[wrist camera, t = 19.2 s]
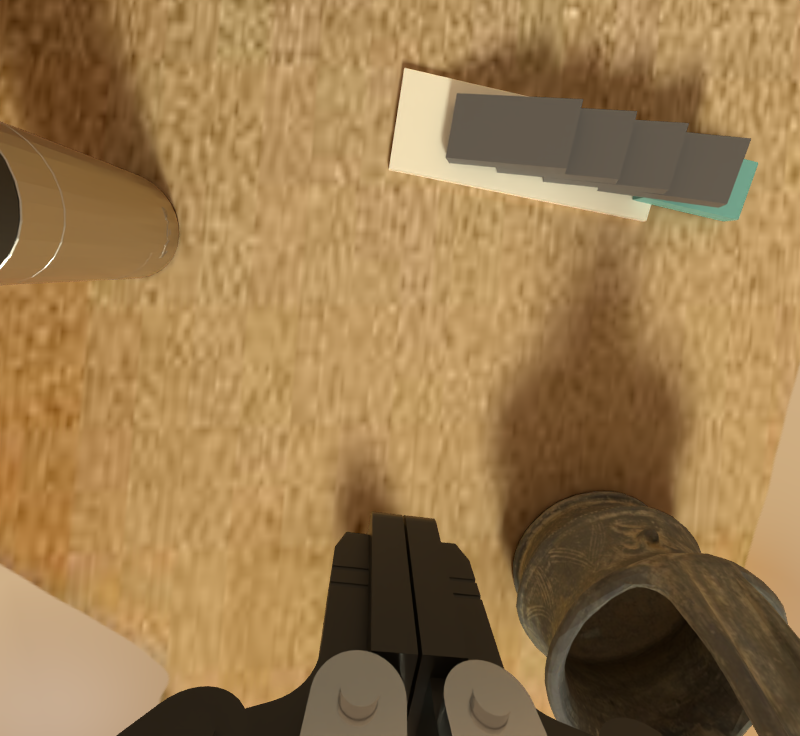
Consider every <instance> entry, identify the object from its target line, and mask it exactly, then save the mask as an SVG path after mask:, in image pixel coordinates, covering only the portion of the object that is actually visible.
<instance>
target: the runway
mask: <svg viewBox="0 0 800 736" xmlns="http://www.w3.org/2000/svg"><path fill="white" fill-rule="evenodd" d="M457 93H465V94H486V95H506V96H525V95H521V94H516V93H512V92H508V91H503V90H499V89H494V88H490V87H486V86H481V85H477V84H473V83H468V82H464V81H460V80H455V79H451V78H447V77H442V76H438V75H434V74H429V73H425V72H420V71H416V70H412V69H407V68H404V74H403V80H402V87H401V93H400V100H399V106H398V113H397V119H396V126H395V132H394V139H393V145H392V152H391V158H390V165H389V170H391V171H396V172H401V173H406V174H411V175H416V176H421V177H426V178H430V179H435V180H440V181H445V182H450V183H455V184H460V185H465V186H470V187H475V188H480V189H485V190H489V191H494V192H499V193H504V194H509V195H514V196H519V197H524V198H529V199H534V200H539V201H544V202H548V203H553V204H558V205H563V206H568V207H573V208H578V209H583V210H588V211H593V212H598V213H602V214H607V215H612V216H617V217H622V218H627V219H632V220H637V221H642V222H643V221H646V220H647V217H648V214H649V210H650V207H651V204H647V203H643V202H639V201H635V200H632V199H633V196H630V195H623V194H615V193H608V192H601V191H597V190H598V188H597V187H588V186H578V185H568V184H559V183H549V182H543V179H544V177H536V176H526V175H516V174H506V173H497V171H496V168H495V167H484V166H474V165H463V164H453V163H449V162H448V161H447V159H446V153H447V147H448V141H449V135H450V130H451V124H452V118H453V113H454V107H455V101H456V95H457ZM527 97H529V96H527Z"/></svg>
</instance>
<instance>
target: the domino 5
mask: <svg viewBox="0 0 800 736" xmlns="http://www.w3.org/2000/svg"><path fill="white" fill-rule="evenodd" d="M757 165H758V163H757V162H754V161H750V160H746V159H744V160H743V163H742V165H741V168H740V171H739V173H738V176H737V179H736V182H735V184H734V187H733V190H732V192H731V195H730V198H729V201H728V203H727V204H726V205H724V206H722V207H719V208H716V207H709V206H702V205H695V204H688V203H680V202H673V201H666V200H659V199H651V198H644V197H637V196H633V199H632V200H635V201H639V202H643V203H647V204H652V205H656V206H660V207H664V208H669V209H673V210H677V211H681V212H686V213H690V214H694V215H698V216H703V217H707V218H711V219H715V220H720V221H731V220H738V219H739V216H740V213H741V211H742V208H743V205H744V202H745V199H746V196H747V194H748V191H749V188H750V185H751V182H752V180H753V177H754V174H755V171H756V168H757Z"/></svg>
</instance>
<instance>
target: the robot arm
mask: <svg viewBox="0 0 800 736" xmlns="http://www.w3.org/2000/svg"><path fill="white" fill-rule="evenodd" d="M178 239H179V226H178V221H177V217H176V214H175V211H174V209H173V207H172V205H171V203H170V201H169V200H168V199H167V197H166V196H165V195H164V193H163V192H162V191H161V190H160V189H159V188H158V187H156V186H155V185H154V184H153V183H151V182H150V181H148V180H147V179H145V178H144V177H141V176H139V175H136V174H134V173H131V172H129V171H126V170H124V169H121V168H119V167H116V166H114V165H112V164H109V163H107V162H104V161H101V160H99V159H96V158H94V157H91V156H88V155H86V154H83V153H81V152H78V151H76V150H73V149H70V148H68V147H65V146H63V145H60V144H57V143H55V142H52V141H50V140H47V139H45V138H42V137H39V136H37V135H34V134H32V133H29V132H26V131H24V130H21V129H19V128H16V127H14V126H11V125H8V124H6V123H3V122H1V121H0V285H12V284H32V283H52V282H72V281H92V280H114V279H132V278H143V277H147V276H151V275H153V274H155V273H157V272H159V271H160V270H162V269H163V268H164V267H165V266H166V265H167V264H168V263H169V262H170V260H171V259H172V257H173V256H174V254H175V251H176V249H177V246H178ZM117 736H593V735H591V734H588V733H586V732H584V731H581V730H579V729H576V728H574V727H571V726H569V725H567V724H564V723H562V722H559V721H557V720H555V719H553V718H551V717H549V716H547V715H545V714H543V713H542V712H540V711H539V710H537V709H536V708H535V706H534V704H533V702H532V700H531V698H530V696H529V694H528V693H527V691H526V690H525V688H524V687H523V686H522V684H521V683H520V682H519V681H518V680H517V679H516V678H515V677H514V676H513V675H512V674H510V673H509V672H508V671H506V670H505V669H504V667H503V664H502V661H501V658H500V655H499V652H498V649H497V646H496V642H495V639H494V636H493V633H492V630H491V627H490V624H489V621H488V618H487V614H486V611H485V608H484V605H483V602H482V600H480V593H479V590H478V586H477V583H475V577H474V574H473V571H472V568H471V565H470V562H469V560H468V559H467V557H466V556H465V555H464V554H463V553H462V551H461V550H460V549H459V548H458V546H457V545H456V544H452V543H442V542H441V541H440V537H439V533H438V528H437V524H436V521H435V519H432V518H423V517H414V516H406V515H404V516H402V515H396V514H387V513H379V512H371V515H370V520H369V526H368V532H367V534H359V533H350V532H346V533H345V535H344V536H343V537H342V539H341V540H340V541H339V542H338V544H337V545H336V546H335V551H334V557H333V564H332V570H331V577H330V583H329V590H328V596H327V603H326V610H325V617H324V623H323V630H322V637H321V645H320V651H319V658H318V661H317V664H316V666H315V668H314V670H313V671H312V673H311V675H310V676H309V677H308V678H307V680H306V681H305V682H304V683H303V684H302V685H301V686H299V687H298V688H297V689H296V690H294V691H293V692H291V693H290V694H288V695H286V696H284V697H282V698H279V699H277V700H274V701H271V702H267V703H264V704H260V705H257V706H253V707H249V708H246V709H245V708H244V706H243V705H242V703H241V702H240V700H239V699H238V698H237V697H235V696H234V695H233V694H232V693H230V692H228V691H227V690H224V689H221V688H218V687H210V686H205V687H196V688H191V689H187V690H184V691H182V692H179V693H177V694H175V695H173V696H171V697H169V698H167V699H166V700H164V701H163V702H161V703H160V704H158V705H157V706H156V707H154V708H153V709H152V710H150V711H149V712H148V713H146V714H145V715H144V716H142V717H141V718H140V719H138V720H137V721H135V722H134V723H133V724H131V725H130V726H129V727H127V728H126V729H125V730H123V731H122V732H121V733H119V734H118V735H117ZM598 736H663V735H662V734H661V733H660V732H658V731H656V730H655V729H653V728H652V727H650V726H648V725H646V724H644V723H642V722H639V721H637V720H634V719H630V718H621V717H617V718H613V719H610V720H608V721H607V722H605V723H604V725H603V726H602V727H601V729H600V732H599V734H598Z"/></svg>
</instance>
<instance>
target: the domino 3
mask: <svg viewBox="0 0 800 736" xmlns="http://www.w3.org/2000/svg"><path fill="white" fill-rule="evenodd" d="M688 125H689V123H678V122H662V121H646V120H635V122H634V126H633V129H632V133H631V137H630V141H629V144H628V148H627V152H626V156H625V159H624V163H623V167H622V170H621V174H620V178H619V180H618V181H617V183H616V184H608V183H598V182H588V181H577V180H567V179H557V178H547V177H544V179H543V182H549V183H559V184H568V185H578V186H588V187H597V188H607V189H616V190H626V191H636V192H645V193H655V194H664V193H665V192H667V191H668V190H669V188H670V185H671V182H672V178H673V175H674V172H675V168H676V165H677V162H678V158H679V155H680V152H681V148H682V145H683V142H684V138H685V135H686V132H687V128H688Z"/></svg>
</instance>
